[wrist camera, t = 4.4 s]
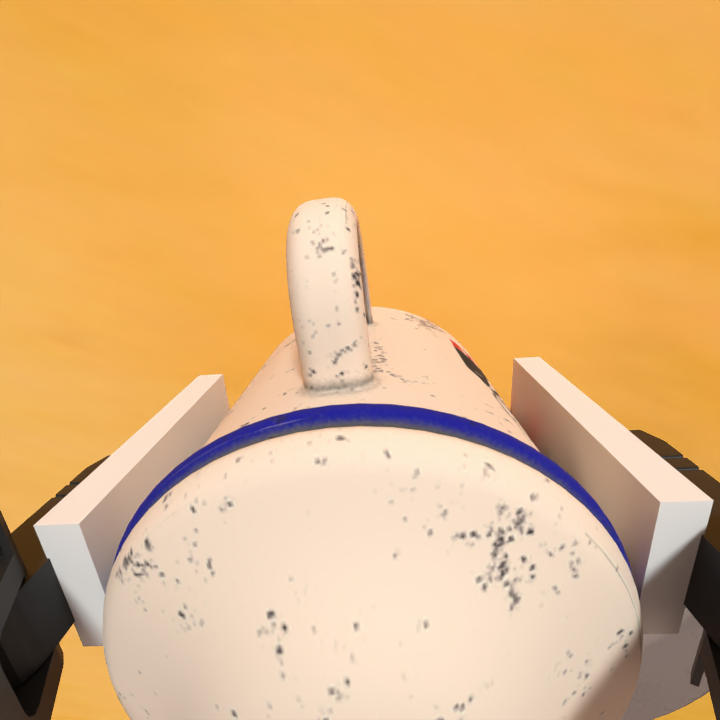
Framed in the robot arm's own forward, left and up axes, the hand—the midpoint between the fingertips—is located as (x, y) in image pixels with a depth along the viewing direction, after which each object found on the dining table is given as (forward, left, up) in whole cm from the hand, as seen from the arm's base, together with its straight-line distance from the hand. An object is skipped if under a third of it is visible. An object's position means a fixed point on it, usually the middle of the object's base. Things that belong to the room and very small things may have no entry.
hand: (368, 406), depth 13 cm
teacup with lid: (0, 0, -2) cm, 2 cm away
